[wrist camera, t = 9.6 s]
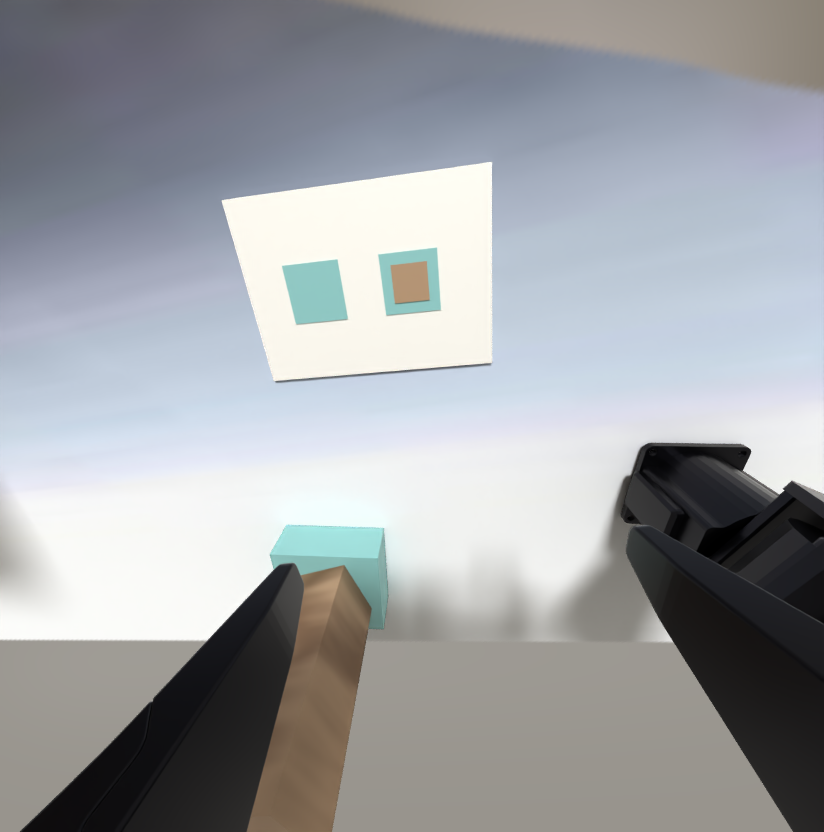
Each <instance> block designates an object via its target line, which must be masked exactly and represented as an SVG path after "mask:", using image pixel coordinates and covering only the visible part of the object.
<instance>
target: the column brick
mask: <svg viewBox="0 0 824 832" xmlns="http://www.w3.org/2000/svg"><path fill="white" fill-rule="evenodd" d="M301 577H302V579H303V582H304V594H303V600H302V606H301V612H300V618H299V624H298V630H297V637H296V643H295V648H294V653H293V657H292V661H291V665H290V669H289V673H288V677H287V680H286V684H285V688H284V692H283V696H282V699H281V703H280V707H279V711H278V715H277V719H276V722H275V726H274V730H273V734H272V738H271V741H270V745H269V749H268V753H267V757H266V760H265V764H264V768H263V772H262V776H261V780H260V783H259V787H258V791H257V795H256V799H255V802H254V806H253V810H252V814H251V818H250V821H249V825H248V829H247V832H332V828H333V823H334V817H335V811H336V806H337V800H338V794H339V789H340V783H341V778H342V772H343V767H344V761H345V755H346V749H347V744H348V739H349V733H350V728H351V722H352V716H353V711H354V705H355V699H356V694H357V688H358V683H359V677H360V672H361V666H362V661H363V655H364V649H365V644H366V638H367V633H368V627H369V622H370V616H371V611H372V608H371V606H370V605H369V603H368V602H367V600H366V598H365V597H364V595H363V594H362V592H361V590H360V589H359V587H358V586H357V584H356V583H355V581H354V579H353V578H352V576H351V575H350V573H349V571H348V570H347V568H346V567H345V565H342V566H338V567H334V568H329V569H325V570H321V571H317V572H313V573H308V574H304V575H301Z"/></svg>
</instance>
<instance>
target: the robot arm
mask: <svg viewBox="0 0 824 832" xmlns="http://www.w3.org/2000/svg"><path fill="white" fill-rule="evenodd" d="M652 449H654V450H653V451H652V452H650V451H651V450H652ZM649 452H650V453H649ZM739 452H740V453H739ZM750 454H751V449H749V448H748V447H746V446H744V445H742V444H696V443H648V444H646V445H645V446H644V447H643V448H642V450H641V453H640V456H639V460H638V463H637V466H636V469H635V472H634V474H633V476H632V479H631V482H630V486H629V489H628V492H627V495H626V498H625V501H624V506H623V509H622V513H621V517H622V519H623V520H624V521H625V522H626V523H631V524H642V525H639V526H633V527H631V528H630V530H629V535H628V540H627V545H626V554H627V557H628V559H629V561H630V563H631V565H632V567H633V569H634V571H635V573H636V575H637V577H638V579H639V581H640V583H641V585H642V587H643V589H644V591H645V593H646V595H647V597H648V599H649V600H650V602H651V604H652V606H653V608H654V610H655V612H656V614H657V616H658V618H659V619H660V621H661V623H662V624H663V626H664V628H665V629H666V631H667V632H668V634H669V636H670V637H671V639H672V640H673V642H674V644H675V645H676V646H677V648H678V650H679V651H680V653H681V655H682V656H683V658H684V659H685V661H686V662H687V664H688V666H689V667H690V669H691V670H692V672H693V674H694V675H695V677H696V678H697V680H698V682H699V683H700V685H701V686H702V688H703V690H704V691H705V693H706V694H707V696H708V697H709V699H710V701H711V702H712V704H713V705H714V707H715V709H716V710H717V711H718V713H719V715H720V717H721V718H722V720H723V721H724V723H725V724H726V726H727V728H728V729H729V731H730V732H731V734H732V735H733V737H734V739H735V740H736V742H737V743H738V745H739V746H740V748H741V750H742V751H743V753H744V755H745V756H746V758H747V759H748V761H749V763H750V764H751V766H752V767H753V769H754V770H755V772H756V774H757V775H758V777H759V778H760V780H761V781H762V783H763V785H764V786H765V788H766V790H767V791H768V793H769V794H770V796H771V797H772V799H773V801H774V802H775V804H776V805H777V807H778V808H779V810H780V812H781V813H782V815H783V816H784V818H785V819H786V821H787V823H788V824H789V826H790V828H791V829H792V831H793V832H824V494H822V493H820V492H818V491H815V490H813V489H811V488H808V487H806V486H804V485H801V484H799V483H796V482H794V481H791V482H790V483H789V484H788V485H787V486H785V487H784V488H783V489H784V490H785V491H783V492H782V493H781V494H780V495H779V494H778V493H776V492H775V491H773V490H772V489H770V488H768V487H767V486H765V485H764V484H762V483H761V482H759V481H758V480H756V479H755V478H753V477H752V476H750V475H749V474H747V473H746V472H744V471H743V469H744V467H745V465H746V463H747V461H748V459H749V456H750ZM303 594H304V582H303V579H302V577H301V575H300V572H299V570H298V568H297V566H296V564H295V563H283V564H280V565H278V566H277V567H276V568H275V569H274V570H273V571H272V572H271V573H270V574H269V575H268V576H267V578H266V579H265V580H264V581H263V582H262V583H261V584H260V585H259V586H258V587H257V588H256V589H255V590H254V591H253V592H252V594H251V595H250V596H249V597H248V598H247V599H246V600H245V601H244V602H243V603H242V604H241V605H240V606H239V607H238V608H237V610H236V611H235V612H234V613H233V614H232V615H231V616H230V617H229V618H228V619H227V620H226V621H225V622H224V623H223V624H222V626H221V627H220V628H219V629H218V630H217V631H216V632H215V633H214V634H213V635H212V636H211V637H210V638H209V639H208V640H207V641H206V643H205V644H204V645H203V646H202V647H201V648H200V649H199V650H198V651H197V652H196V653H195V654H194V655H193V656H192V657H191V659H190V660H189V661H188V662H187V663H186V664H185V665H184V666H183V667H182V668H181V669H180V670H179V671H178V673H176V675H175V676H174V677H173V678H172V679H171V680H170V681H169V682H168V683H167V684H166V685H165V686H164V687H163V688H162V689H161V691H160V692H159V693H158V694H157V695H156V696H155V697H154V698H153V701H151V702H149V703H148V704H147V705H146V706H145V707H144V708H143V710H142V711H141V712H140V713H139V714H138V715H137V716H136V717H135V718H134V719H133V720H132V721H131V722H130V723H129V724H128V725H127V726H126V727H125V728H124V730H123V731H122V732H121V733H120V734H119V735H118V736H117V737H116V738H115V739H114V740H113V741H112V742H111V743H110V744H109V745H108V746H107V747H106V748H105V749H104V750H103V751H102V752H101V753H100V754H99V755H98V756H97V757H96V758H95V759H94V760H93V761H92V762H91V763H90V764H89V765H88V766H87V767H86V768H85V769H84V770H83V771H82V772H81V773H80V774H79V775H78V776H77V777H76V778H75V779H74V780H73V781H72V782H71V783H70V784H69V785H68V786H67V787H66V788H65V789H64V790H63V791H62V792H60V793H59V794H58V795H57V796H56V797H55V798H54V799H53V800H52V801H51V802H50V803H49V804H48V805H47V806H46V807H45V808H44V809H43V810H42V811H41V812H40V813H39V814H38V815H37V816H36V817H35V818H34V819H32V820H31V821H30V822H29V823H28V824H27V825H26V826H25V827H24V828H23V829H22V830H21V831H20V832H247V829H248V825H249V821H250V818H251V814H252V810H253V806H254V802H255V799H256V795H257V791H258V787H259V783H260V780H261V776H262V772H263V768H264V764H265V760H266V757H267V753H268V749H269V745H270V741H271V738H272V734H273V730H274V726H275V722H276V719H277V715H278V711H279V707H280V703H281V699H282V696H283V692H284V688H285V684H286V680H287V677H288V673H289V669H290V665H291V661H292V657H293V653H294V648H295V643H296V637H297V630H298V624H299V618H300V612H301V606H302V600H303Z"/></svg>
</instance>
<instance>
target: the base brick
mask: <svg viewBox="0 0 824 832" xmlns="http://www.w3.org/2000/svg"><path fill="white" fill-rule="evenodd" d="M270 557H271V561H272V565H273V568H274V569H275V568H276V567H277V566H278V565H280V564H283V563H295V564H296V566H297V568H298V570H299V572H300V575H304V574H308V573H313V572H317V571H321V570H325V569H329V568H334V567H338V566H342V565H345V567H346V568H347V570H348V571H349V573H350V575H351V576H352V578H353V579H354V581H355V583H356V584H357V586H358V587H359V589H360V590H361V592H362V594H363V595H364V597H365V598H366V600H367V602H368V603H369V605H370V606H371V608H372V611H371V616H370V622H369V627H368V629H384V623H385V615H386V608H387V601H388V586H387V571H386V556H385V541H384V528H365V527H333V526H301V525H286V527H285V529H284V530H283V532H282V534H281V536H280V537H279V539H278V541H277V543H276V544H275V546H274V548H273V550H272V551H271V553H270Z"/></svg>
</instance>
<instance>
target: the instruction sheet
mask: <svg viewBox="0 0 824 832" xmlns="http://www.w3.org/2000/svg"><path fill="white" fill-rule="evenodd" d="M222 203H223V207H224V210H225V214H226V217H227V221H228V224H229V228H230V231H231V234H232V238H233V241H234V245H235V248H236V252H237V255H238V259H239V262H240V265H241V269H242V272H243V276H244V279H245V283H246V286H247V290H248V293H249V297H250V300H251V303H252V307H253V310H254V314H255V317H256V321H257V324H258V328H259V331H260V334H261V338H262V341H263V345H264V348H265V352H266V355H267V359H268V362H269V366H270V369H271V372H272V376H273V379H274V381H279V380H291V379H303V378H315V377H327V376H339V375H351V374H363V373H375V372H387V371H399V370H411V369H423V368H435V367H447V366H459V365H471V364H483V363H492V162H488V163H481V164H474V165H467V166H460V167H453V168H446V169H439V170H432V171H425V172H418V173H411V174H404V175H397V176H389V177H382V178H375V179H368V180H361V181H354V182H347V183H340V184H333V185H326V186H319V187H312V188H305V189H298V190H291V191H283V192H276V193H269V194H262V195H255V196H248V197H241V198H234V199H227V200H222Z"/></svg>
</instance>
